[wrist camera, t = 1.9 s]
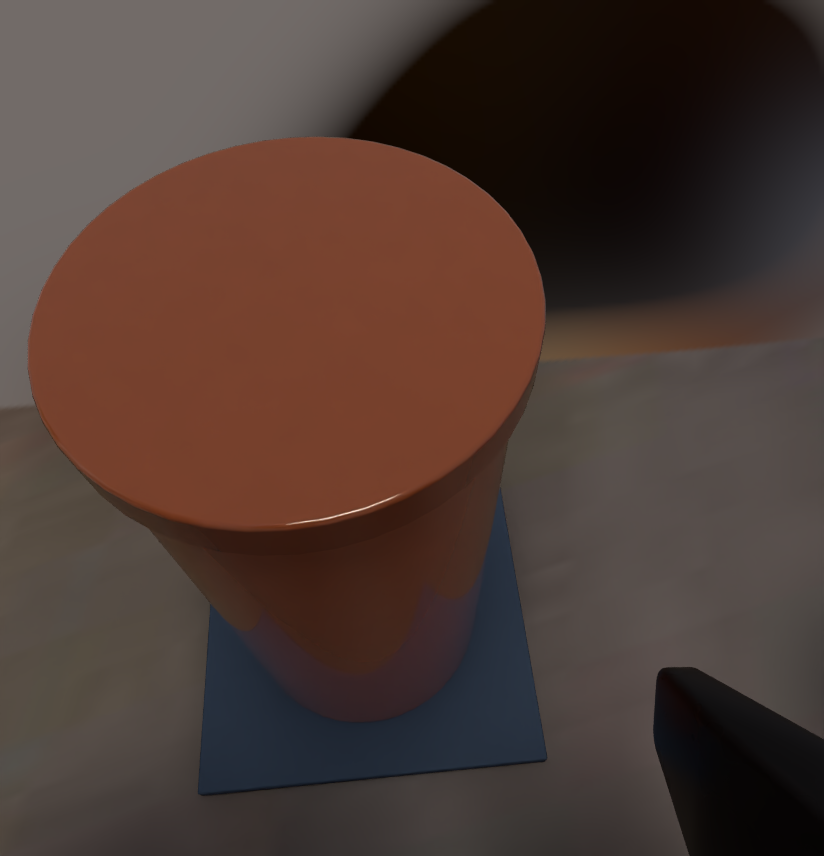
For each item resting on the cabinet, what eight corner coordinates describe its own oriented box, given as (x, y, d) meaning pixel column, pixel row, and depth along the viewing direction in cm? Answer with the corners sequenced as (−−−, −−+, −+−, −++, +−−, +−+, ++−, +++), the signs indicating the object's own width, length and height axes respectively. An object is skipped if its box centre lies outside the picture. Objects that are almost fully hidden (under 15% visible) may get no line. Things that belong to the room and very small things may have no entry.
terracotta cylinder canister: (499, 718, 19) (601, 501, 8) (242, 743, 18) (-36, 557, 7) (466, 490, 22) (502, 120, 11) (251, 509, 22) (73, 151, 11)
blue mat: (545, 761, 18) (547, 759, 18) (201, 795, 18) (197, 794, 18) (494, 463, 23) (495, 457, 23) (221, 487, 23) (218, 481, 23)
